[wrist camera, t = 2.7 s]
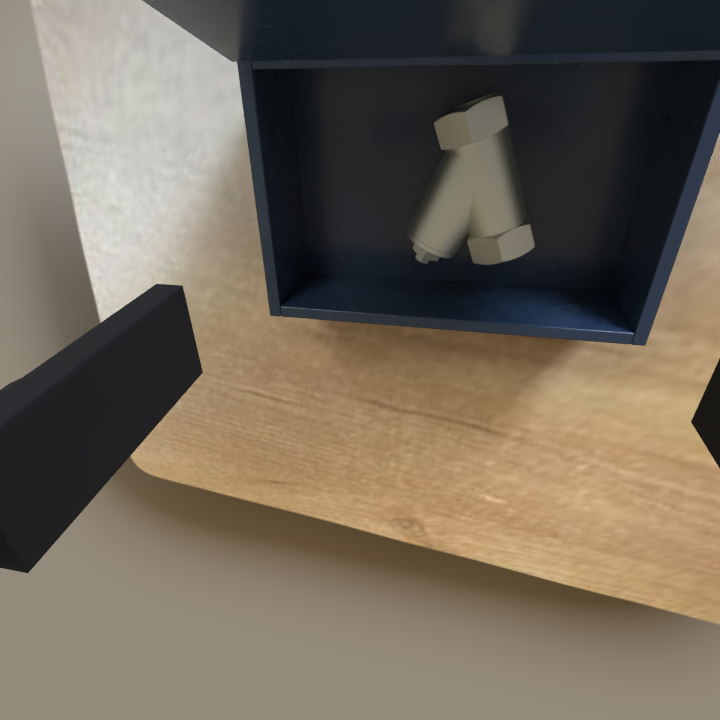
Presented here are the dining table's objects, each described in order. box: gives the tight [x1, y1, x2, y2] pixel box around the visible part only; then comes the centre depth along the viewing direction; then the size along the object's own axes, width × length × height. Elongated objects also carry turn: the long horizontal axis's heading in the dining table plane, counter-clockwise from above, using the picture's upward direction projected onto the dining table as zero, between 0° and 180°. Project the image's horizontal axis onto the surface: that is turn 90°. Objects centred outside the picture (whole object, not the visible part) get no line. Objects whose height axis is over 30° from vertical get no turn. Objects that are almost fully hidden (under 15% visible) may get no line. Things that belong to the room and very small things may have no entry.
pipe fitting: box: [406, 91, 535, 265], centre depth 26 cm, size 8×4×7 cm
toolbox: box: [237, 50, 720, 346], centre depth 26 cm, size 13×21×6 cm, turn 91°
